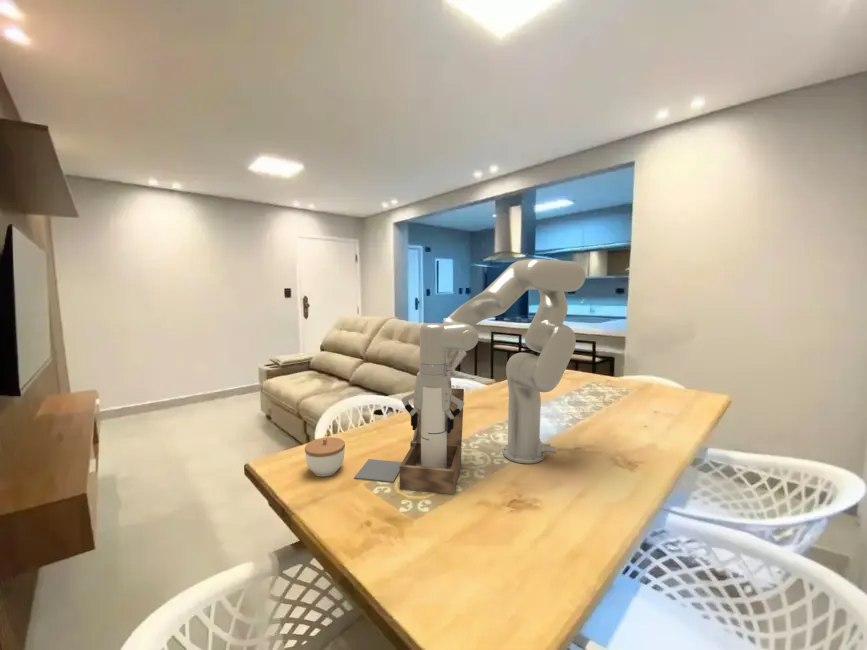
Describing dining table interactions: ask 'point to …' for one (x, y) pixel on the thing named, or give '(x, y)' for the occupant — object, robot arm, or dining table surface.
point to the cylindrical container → (433, 429)
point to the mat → (379, 471)
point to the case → (429, 476)
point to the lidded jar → (325, 455)
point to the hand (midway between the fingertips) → (432, 430)
